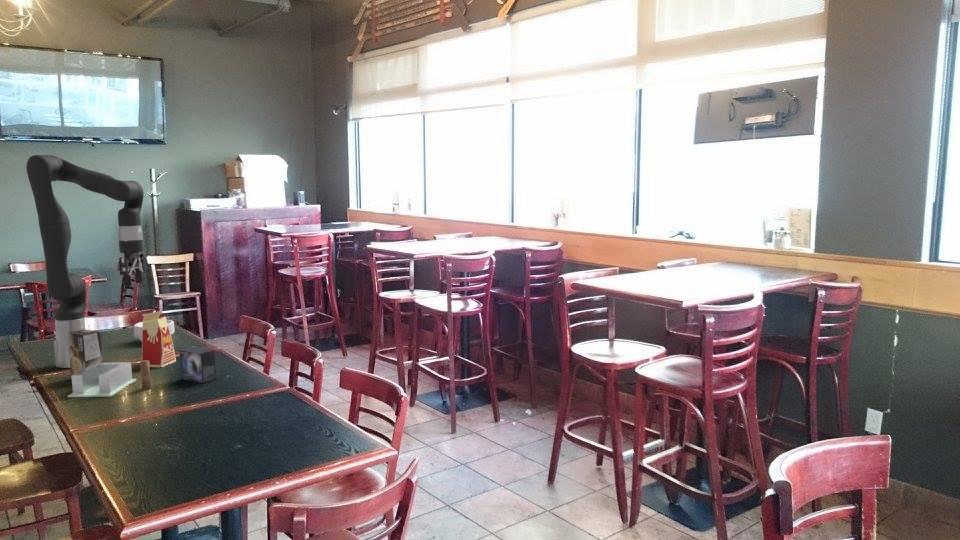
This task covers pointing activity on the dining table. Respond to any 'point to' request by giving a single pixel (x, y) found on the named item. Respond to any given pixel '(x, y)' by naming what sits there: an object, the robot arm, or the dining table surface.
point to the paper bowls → (139, 327)
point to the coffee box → (84, 349)
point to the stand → (145, 375)
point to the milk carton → (157, 340)
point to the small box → (198, 364)
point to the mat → (95, 391)
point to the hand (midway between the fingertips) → (133, 284)
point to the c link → (102, 377)
